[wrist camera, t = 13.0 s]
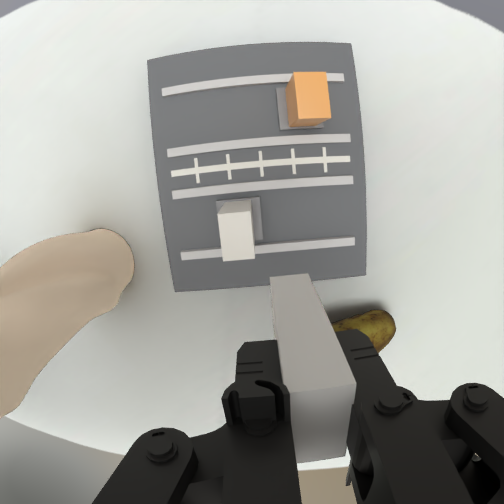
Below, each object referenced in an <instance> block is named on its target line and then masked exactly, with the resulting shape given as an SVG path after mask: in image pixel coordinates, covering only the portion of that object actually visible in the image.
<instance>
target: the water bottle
mask: <svg viewBox="0 0 504 504" xmlns="http://www.w3.org/2000/svg"><path fill="white" fill-rule="evenodd" d="M133 273H134V259H133V254H132V251H131V249H130V247H129V245H128V244H127V242H126V241H125V240H124V239H123V238H122V237H121V236H120V235H118V234H117V233H115V232H113V231H111V230H107V229H95V230H92V231H90V232H82V233H73V234H66V235H61V236H56V237H53V238H49V239H46V240H43V241H41V242H38V243H36V244H34V245H32V246H30V247H28V248H26V249H24V250H22V251H21V252H19V253H18V254H16V255H15V256H13V257H12V258H11V259H9V260H8V261H7V262H6V263H5V264H4V265H3V266H2V267H1V268H0V418H2V417H3V416H5V415H7V414H8V413H10V412H12V411H13V410H15V409H16V408H17V407H18V406H19V405H20V404H21V402H22V401H23V399H24V397H25V395H26V394H27V392H28V390H29V389H30V387H31V385H32V383H33V381H34V379H35V378H36V377H37V375H38V374H39V373H40V372H41V371H42V369H43V368H44V367H45V366H46V365H47V363H48V362H49V361H50V360H51V359H52V358H53V357H54V356H55V355H56V354H57V353H58V352H59V351H60V350H61V349H62V348H63V347H64V346H65V344H66V343H67V342H68V341H69V340H70V339H71V338H72V337H73V336H74V335H75V334H76V333H77V332H78V331H80V330H81V329H82V328H83V327H84V326H85V325H86V324H87V323H88V322H89V321H91V320H92V319H94V318H95V317H97V316H100V315H102V314H104V313H107V312H109V311H111V310H112V309H114V308H115V307H116V306H117V304H118V302H119V298H120V295H121V293H122V292H123V290H124V289H125V287H126V286H127V285H128V284H129V282H130V281H131V279H132V277H133Z"/></svg>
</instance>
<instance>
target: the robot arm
mask: <svg viewBox="0 0 504 504" xmlns="http://www.w3.org/2000/svg"><path fill="white" fill-rule="evenodd" d="M270 288H271V301H272V313H273V326H274V339H275V340H266V341H254V342H244V344H243V345H242V346H241V348H240V349H239V350H238V352H237V362H236V364H237V365H236V376H235V382H234V383H232V384H231V385H230V386H229V387H228V388H227V389H226V390H225V391H224V394H223V396H222V398H221V399H222V404H223V408H224V413H225V417H226V422H227V423H226V424H224V425H223V426H222V427H221V428H219V429H217V430H215V431H213V432H210V433H207V434H204V435H199V436H195V437H191V438H189V437H188V436H187V435H186V434H185V433H184V432H182V431H179V430H177V429H174V428H158V429H153V430H150V431H148V432H146V433H144V434H142V435H141V436H140V437H139V438H138V439H137V440H136V441H135V442H134V444H133V445H132V447H131V448H130V449H129V451H128V452H127V454H126V455H125V457H124V458H123V460H122V461H121V462H120V464H119V465H118V467H117V468H116V470H115V471H114V473H113V474H112V475H111V477H110V479H109V480H108V481H107V483H106V484H105V485H104V487H103V488H102V490H101V491H100V493H99V494H98V496H97V497H96V498H95V500H94V501H93V503H92V504H302V502H301V494H300V487H299V478H298V470H297V463H304V462H311V461H319V460H325V459H331V458H337V457H343V456H345V454H346V449H347V447H348V450H349V454H350V457H351V460H350V464H349V469H348V473H347V477H346V486H349V485H350V483H351V481H352V485H353V489H354V493H355V497H356V501H357V504H504V398H503V397H502V396H500V395H499V394H498V393H496V392H495V391H494V390H493V389H491V388H489V387H487V386H486V385H483V384H478V383H466V384H464V385H461V386H459V387H457V388H456V389H455V390H454V391H453V393H452V396H451V398H450V400H439V401H424V400H418V399H417V397H416V396H415V395H414V394H413V393H412V392H411V391H409V390H407V389H405V388H403V387H400V386H397V385H396V384H395V382H394V380H393V378H392V376H391V375H390V373H389V371H388V369H387V368H386V366H385V364H384V362H383V361H382V359H381V357H380V356H379V354H378V352H377V350H376V349H375V348H374V345H373V344H372V342H371V340H370V338H369V337H368V336H367V335H366V334H364V333H363V332H361V331H360V330H358V329H351V330H344V331H337V332H334V330H333V327H332V325H331V323H330V321H329V318H328V316H327V314H326V312H325V309H324V307H323V305H322V303H321V301H320V298H319V296H318V294H317V292H316V290H315V287H314V285H313V283H312V281H311V279H310V277H309V274H308V273H306V274H296V275H285V276H275V277H270ZM475 453H476V454H477V455H478V456H479V457H478V456H477V455H475Z"/></svg>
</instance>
